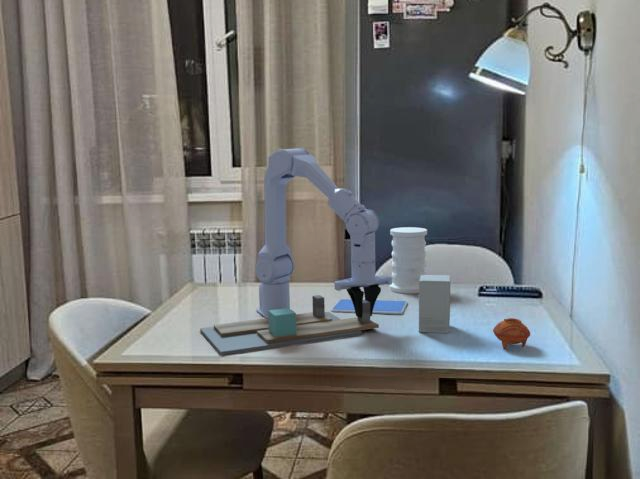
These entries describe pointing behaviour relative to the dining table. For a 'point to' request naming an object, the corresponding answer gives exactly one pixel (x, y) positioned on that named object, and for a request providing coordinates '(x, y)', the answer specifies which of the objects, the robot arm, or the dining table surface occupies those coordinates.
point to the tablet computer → (379, 308)
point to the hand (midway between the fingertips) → (363, 316)
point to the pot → (511, 332)
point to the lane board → (261, 340)
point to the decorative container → (408, 258)
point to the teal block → (282, 322)
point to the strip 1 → (263, 324)
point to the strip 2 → (325, 327)
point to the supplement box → (434, 303)
